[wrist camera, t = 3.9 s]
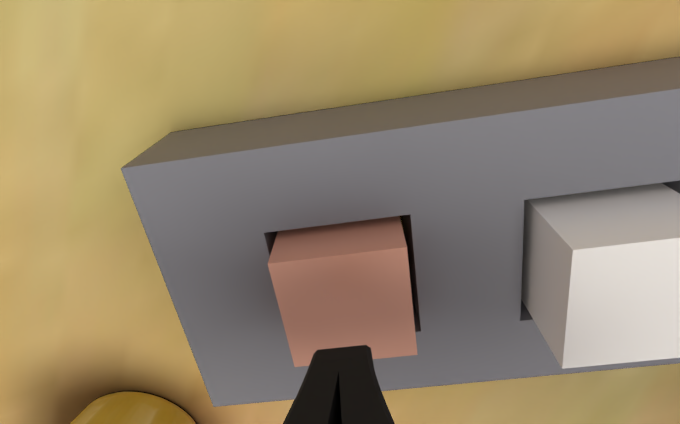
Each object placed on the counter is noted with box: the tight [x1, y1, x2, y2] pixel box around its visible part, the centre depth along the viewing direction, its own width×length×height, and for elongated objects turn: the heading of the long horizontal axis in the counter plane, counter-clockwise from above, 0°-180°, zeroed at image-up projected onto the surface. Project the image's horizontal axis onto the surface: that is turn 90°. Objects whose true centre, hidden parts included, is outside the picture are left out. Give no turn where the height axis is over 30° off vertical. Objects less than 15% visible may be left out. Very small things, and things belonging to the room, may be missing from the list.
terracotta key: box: [268, 216, 418, 367], centre depth 15 cm, size 4×4×4 cm
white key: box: [521, 183, 680, 369], centre depth 13 cm, size 4×4×4 cm
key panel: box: [121, 57, 680, 407], centre depth 16 cm, size 20×10×4 cm, turn 99°
